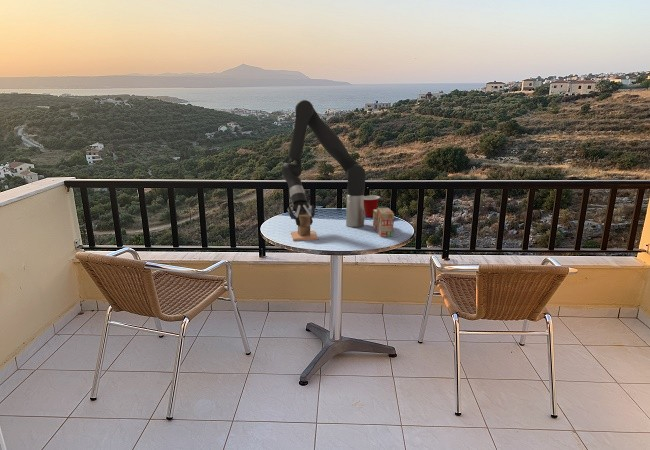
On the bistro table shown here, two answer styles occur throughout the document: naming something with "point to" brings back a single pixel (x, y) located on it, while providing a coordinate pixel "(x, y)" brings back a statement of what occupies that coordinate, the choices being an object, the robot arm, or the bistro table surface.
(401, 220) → the bistro table surface
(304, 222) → the walnut block
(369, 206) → the plastic cup
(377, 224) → the stack of blocks
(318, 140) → the robot arm
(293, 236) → the terracotta tile
